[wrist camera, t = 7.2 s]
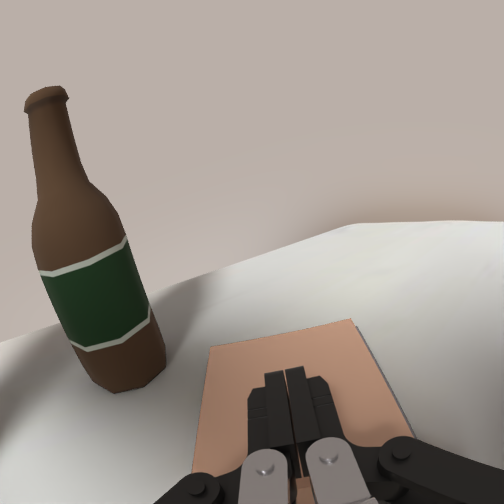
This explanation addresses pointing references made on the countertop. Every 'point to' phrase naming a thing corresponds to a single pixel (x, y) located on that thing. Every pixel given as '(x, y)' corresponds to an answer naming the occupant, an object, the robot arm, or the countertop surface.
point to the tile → (280, 358)
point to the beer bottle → (88, 258)
